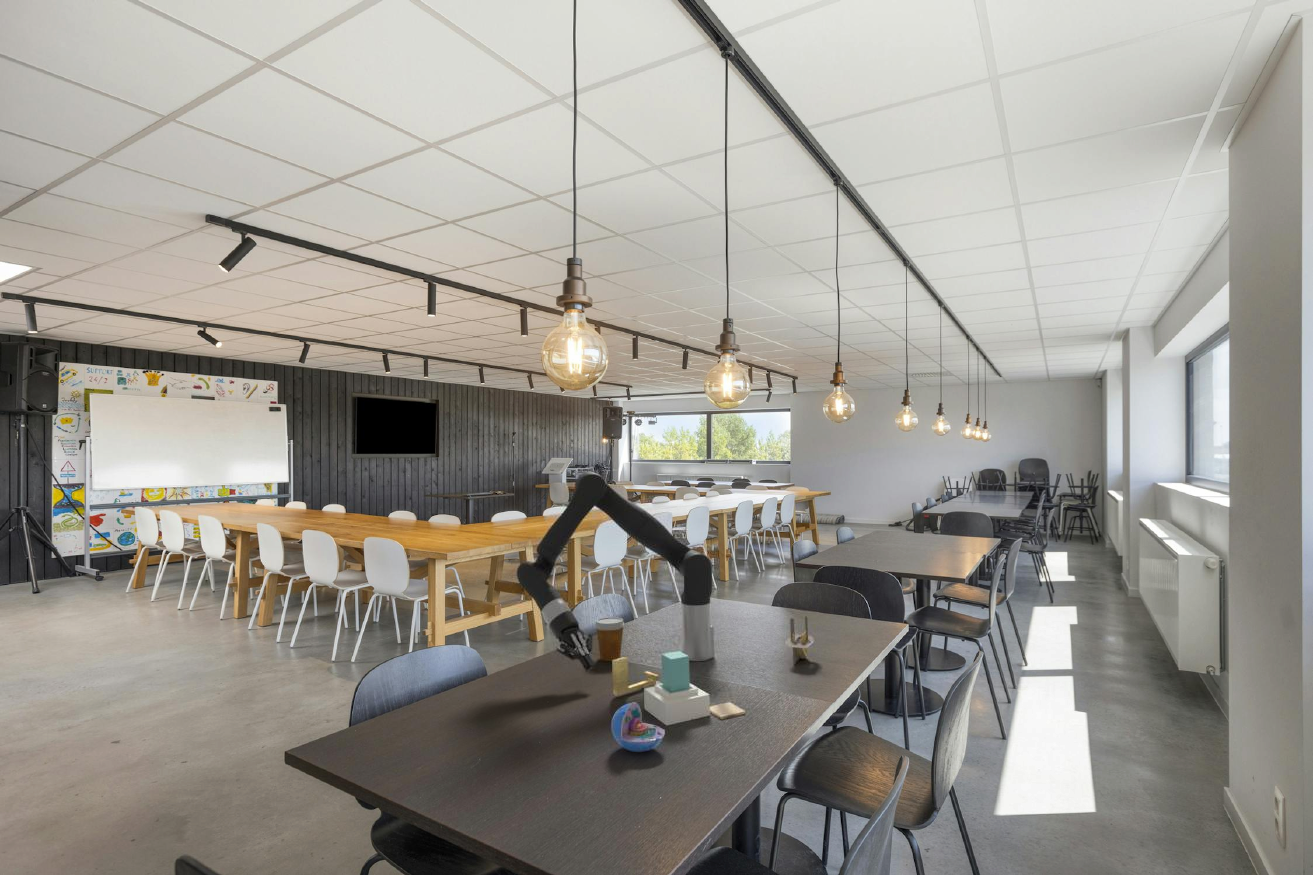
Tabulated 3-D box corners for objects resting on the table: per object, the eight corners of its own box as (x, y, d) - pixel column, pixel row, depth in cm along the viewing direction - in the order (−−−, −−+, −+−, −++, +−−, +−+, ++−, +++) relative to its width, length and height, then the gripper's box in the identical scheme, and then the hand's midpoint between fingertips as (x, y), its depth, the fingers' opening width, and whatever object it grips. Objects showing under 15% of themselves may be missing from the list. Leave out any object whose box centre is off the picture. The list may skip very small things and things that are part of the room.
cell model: (653, 763, 133) (652, 716, 133) (603, 754, 138) (602, 708, 138) (673, 744, 142) (672, 700, 142) (625, 735, 147) (624, 693, 147)
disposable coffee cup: (627, 653, 210) (626, 616, 211) (622, 662, 201) (621, 623, 201) (598, 653, 211) (597, 616, 212) (592, 662, 202) (591, 623, 202)
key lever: (649, 680, 182) (648, 647, 182) (661, 684, 178) (660, 651, 179) (609, 693, 173) (608, 658, 173) (620, 698, 169) (620, 662, 169)
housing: (685, 699, 168) (685, 675, 168) (710, 715, 158) (709, 689, 158) (644, 708, 163) (643, 683, 163) (666, 725, 152) (665, 698, 152)
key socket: (656, 680, 183) (656, 679, 183) (666, 687, 178) (666, 685, 178) (637, 684, 181) (637, 683, 181) (646, 691, 175) (646, 689, 175)
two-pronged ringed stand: (842, 654, 205) (840, 610, 205) (828, 679, 182) (826, 629, 182) (776, 648, 213) (775, 605, 214) (756, 671, 191) (754, 623, 191)
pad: (729, 704, 164) (729, 701, 164) (745, 713, 158) (745, 711, 158) (706, 709, 161) (706, 707, 161) (721, 719, 155) (721, 716, 155)
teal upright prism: (680, 686, 164) (679, 650, 164) (689, 692, 159) (688, 655, 160) (662, 690, 161) (661, 653, 162) (672, 696, 157) (671, 659, 157)
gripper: (548, 614, 180) (580, 666, 172) (582, 605, 191) (614, 654, 183) (536, 631, 183) (567, 683, 175) (570, 621, 194) (600, 670, 186)
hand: (591, 668), depth 179 cm, fingers closed
